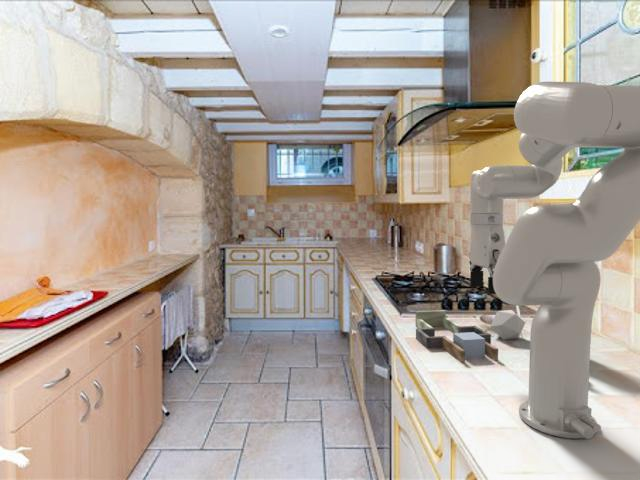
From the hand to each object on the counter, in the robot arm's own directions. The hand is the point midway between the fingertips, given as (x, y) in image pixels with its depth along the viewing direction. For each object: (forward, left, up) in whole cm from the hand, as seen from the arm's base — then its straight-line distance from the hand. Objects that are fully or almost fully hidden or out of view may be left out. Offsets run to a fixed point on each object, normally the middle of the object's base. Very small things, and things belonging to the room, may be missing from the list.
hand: (485, 289), depth 103 cm
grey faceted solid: (+19, -18, -19) cm, 33 cm away
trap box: (+18, 0, -19) cm, 26 cm away
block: (+8, 0, -19) cm, 21 cm away
